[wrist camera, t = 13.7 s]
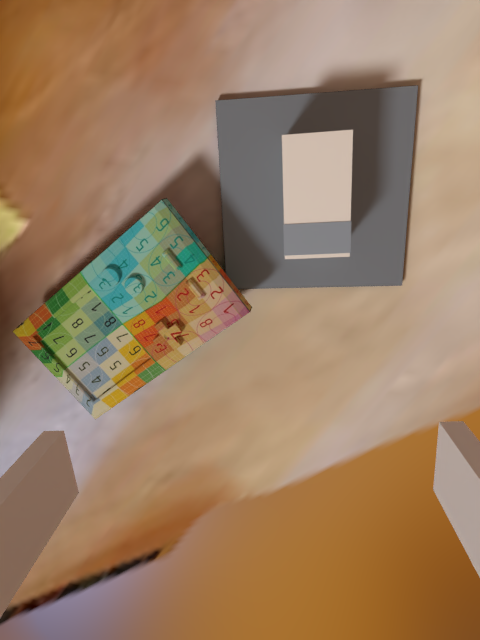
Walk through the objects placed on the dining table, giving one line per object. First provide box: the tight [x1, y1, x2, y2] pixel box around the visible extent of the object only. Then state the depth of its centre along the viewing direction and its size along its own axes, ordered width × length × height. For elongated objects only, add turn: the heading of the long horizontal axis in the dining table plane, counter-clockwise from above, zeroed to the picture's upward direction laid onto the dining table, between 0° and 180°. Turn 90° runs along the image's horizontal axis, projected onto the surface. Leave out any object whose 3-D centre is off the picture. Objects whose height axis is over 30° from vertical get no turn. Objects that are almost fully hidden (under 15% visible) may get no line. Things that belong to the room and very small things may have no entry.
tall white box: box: [282, 130, 353, 259], centre depth 33 cm, size 9×5×5 cm, turn 4°
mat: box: [216, 86, 418, 289], centre depth 35 cm, size 16×16×1 cm
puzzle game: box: [13, 198, 252, 419], centre depth 38 cm, size 12×5×20 cm
